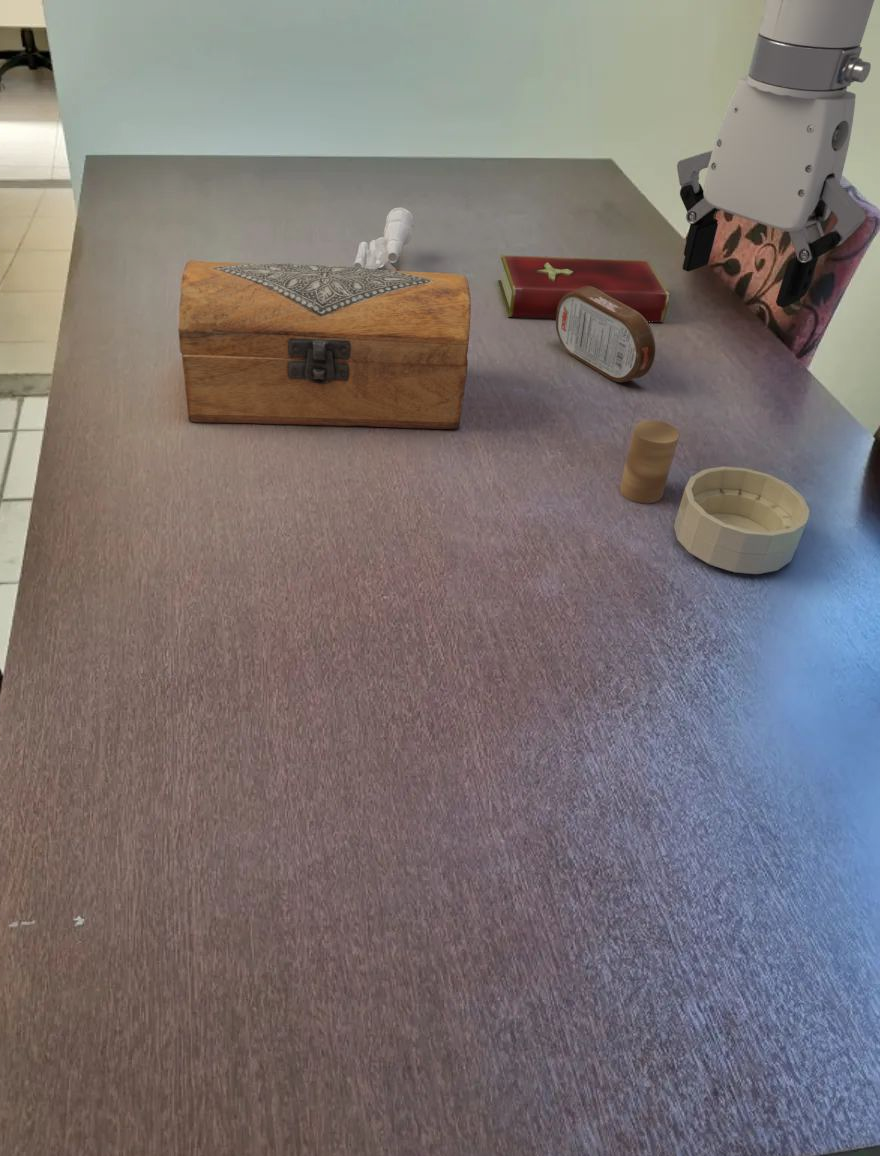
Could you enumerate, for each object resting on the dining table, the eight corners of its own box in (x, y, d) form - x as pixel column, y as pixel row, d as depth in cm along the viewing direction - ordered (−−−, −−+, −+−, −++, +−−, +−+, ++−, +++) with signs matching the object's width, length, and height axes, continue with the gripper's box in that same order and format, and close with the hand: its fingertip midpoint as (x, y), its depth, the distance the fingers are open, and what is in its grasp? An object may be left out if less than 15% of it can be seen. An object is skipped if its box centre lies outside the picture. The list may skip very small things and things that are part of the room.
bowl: (813, 549, 94) (832, 505, 90) (748, 594, 88) (766, 550, 84) (716, 496, 99) (730, 454, 96) (649, 535, 94) (662, 492, 90)
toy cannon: (375, 300, 135) (348, 271, 133) (383, 263, 145) (359, 235, 143) (417, 263, 131) (391, 232, 129) (423, 227, 142) (398, 198, 139)
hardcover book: (663, 324, 130) (670, 293, 128) (508, 319, 129) (513, 287, 126) (642, 288, 139) (649, 258, 136) (497, 282, 138) (501, 252, 135)
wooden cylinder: (671, 494, 99) (688, 433, 95) (644, 508, 97) (661, 447, 92) (637, 475, 102) (652, 415, 97) (610, 489, 99) (624, 428, 95)
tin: (648, 389, 116) (665, 322, 111) (629, 395, 115) (645, 327, 109) (565, 340, 125) (576, 275, 119) (546, 345, 124) (557, 279, 118)
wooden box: (182, 427, 104) (169, 300, 94) (203, 357, 116) (194, 239, 107) (462, 439, 105) (476, 315, 96) (453, 369, 117) (465, 253, 108)
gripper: (930, 83, 72) (850, 307, 84) (733, 40, 82) (684, 246, 93) (882, 97, 68) (804, 329, 80) (680, 49, 78) (636, 264, 89)
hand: (739, 284), depth 86 cm, fingers open, 9 cm apart
